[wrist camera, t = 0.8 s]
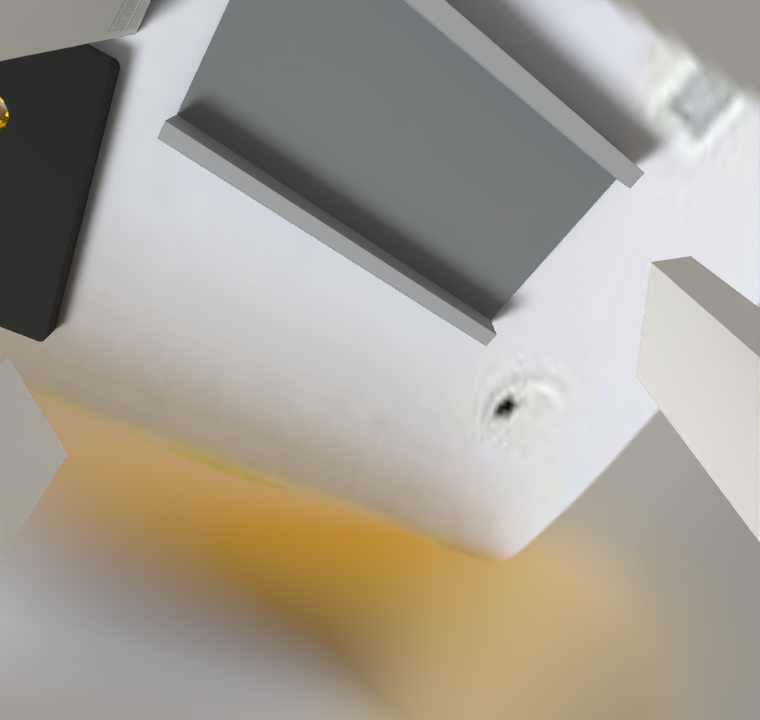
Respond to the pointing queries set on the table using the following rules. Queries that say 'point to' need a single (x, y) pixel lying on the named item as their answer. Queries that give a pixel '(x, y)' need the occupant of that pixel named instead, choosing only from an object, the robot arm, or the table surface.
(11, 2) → the skincare box
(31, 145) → the cassette tape
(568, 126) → the rubber tray
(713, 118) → the table surface
